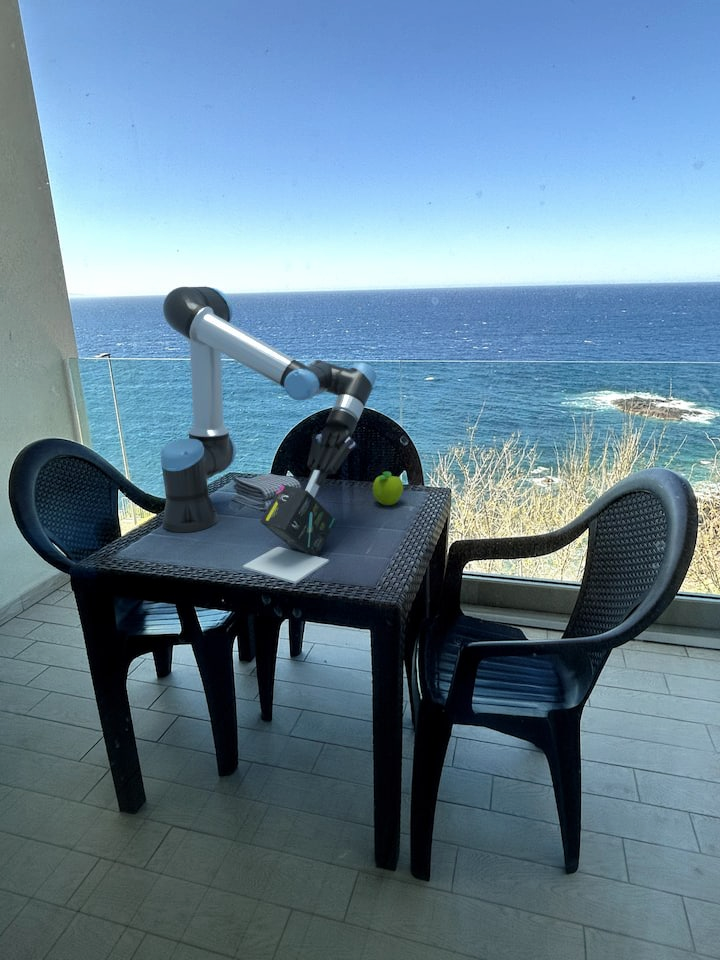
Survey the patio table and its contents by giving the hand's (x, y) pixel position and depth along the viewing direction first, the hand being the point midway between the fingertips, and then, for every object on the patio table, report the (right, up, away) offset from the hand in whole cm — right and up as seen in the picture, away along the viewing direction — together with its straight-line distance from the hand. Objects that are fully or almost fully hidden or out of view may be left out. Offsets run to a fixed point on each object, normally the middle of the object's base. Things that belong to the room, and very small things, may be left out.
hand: (309, 495), depth 145 cm
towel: (-17, -3, +42) cm, 46 cm away
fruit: (+21, -4, +36) cm, 42 cm away
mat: (-5, -17, -4) cm, 18 cm away
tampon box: (+1, -10, +5) cm, 11 cm away
